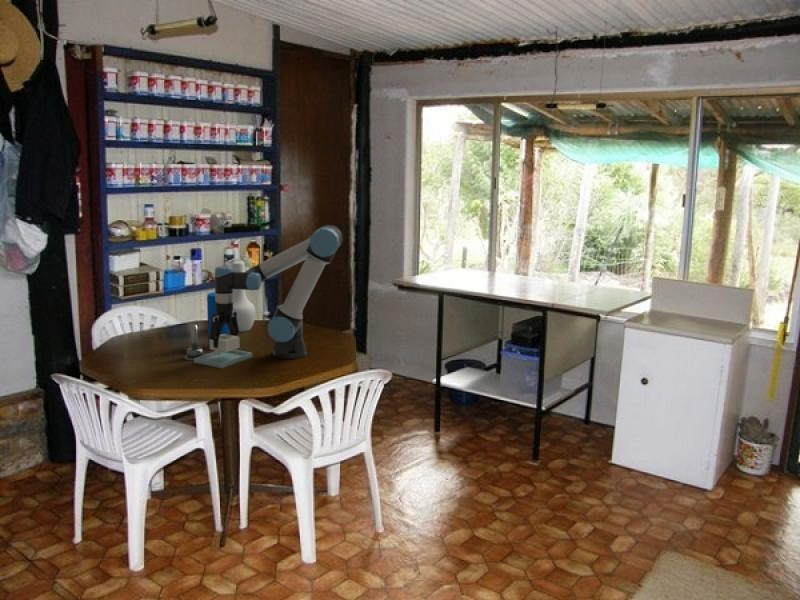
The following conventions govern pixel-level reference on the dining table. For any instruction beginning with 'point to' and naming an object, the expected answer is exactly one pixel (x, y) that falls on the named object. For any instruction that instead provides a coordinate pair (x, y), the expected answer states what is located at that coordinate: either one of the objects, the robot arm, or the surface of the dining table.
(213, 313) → the thermos
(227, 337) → the ring
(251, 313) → the vase
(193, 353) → the stake
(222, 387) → the dining table surface
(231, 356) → the tray
